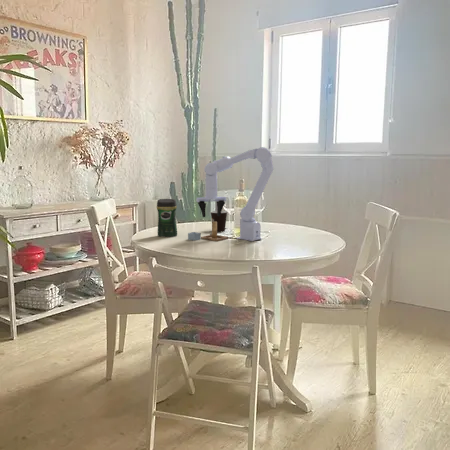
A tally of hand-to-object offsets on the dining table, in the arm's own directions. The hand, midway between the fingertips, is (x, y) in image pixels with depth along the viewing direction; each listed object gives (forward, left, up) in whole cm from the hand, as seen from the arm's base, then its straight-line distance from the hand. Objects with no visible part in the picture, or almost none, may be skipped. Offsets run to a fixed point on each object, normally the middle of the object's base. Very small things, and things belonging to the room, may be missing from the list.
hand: (211, 216), depth 232 cm
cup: (+2, +10, -10) cm, 15 cm away
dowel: (-4, +3, -10) cm, 11 cm away
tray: (-4, +3, -10) cm, 12 cm away
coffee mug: (+11, -19, -11) cm, 24 cm away
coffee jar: (+19, +11, -11) cm, 24 cm away
